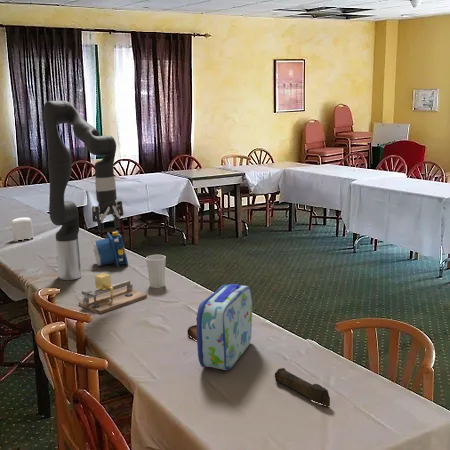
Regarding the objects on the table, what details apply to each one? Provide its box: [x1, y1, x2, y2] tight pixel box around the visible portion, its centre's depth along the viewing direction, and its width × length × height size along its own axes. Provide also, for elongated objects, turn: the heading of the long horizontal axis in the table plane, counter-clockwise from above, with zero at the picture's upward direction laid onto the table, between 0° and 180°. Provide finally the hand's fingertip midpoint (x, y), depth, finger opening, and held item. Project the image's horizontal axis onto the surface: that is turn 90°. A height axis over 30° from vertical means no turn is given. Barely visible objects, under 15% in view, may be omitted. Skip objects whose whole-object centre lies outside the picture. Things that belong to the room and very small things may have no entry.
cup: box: [145, 254, 167, 289], centre depth 244 cm, size 8×8×12 cm
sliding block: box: [94, 272, 114, 300], centre depth 227 cm, size 8×4×9 cm, turn 47°
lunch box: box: [195, 283, 253, 371], centre depth 178 cm, size 26×11×21 cm, turn 160°
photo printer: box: [11, 216, 34, 242], centre depth 323 cm, size 10×4×12 cm, turn 117°
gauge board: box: [78, 279, 148, 315], centre depth 228 cm, size 14×22×6 cm, turn 137°
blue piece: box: [93, 230, 129, 268], centre depth 275 cm, size 13×15×15 cm
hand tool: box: [274, 367, 331, 406], centre depth 157 cm, size 19×4×5 cm, turn 34°
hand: (109, 230), depth 230 cm, fingers open, 8 cm apart
